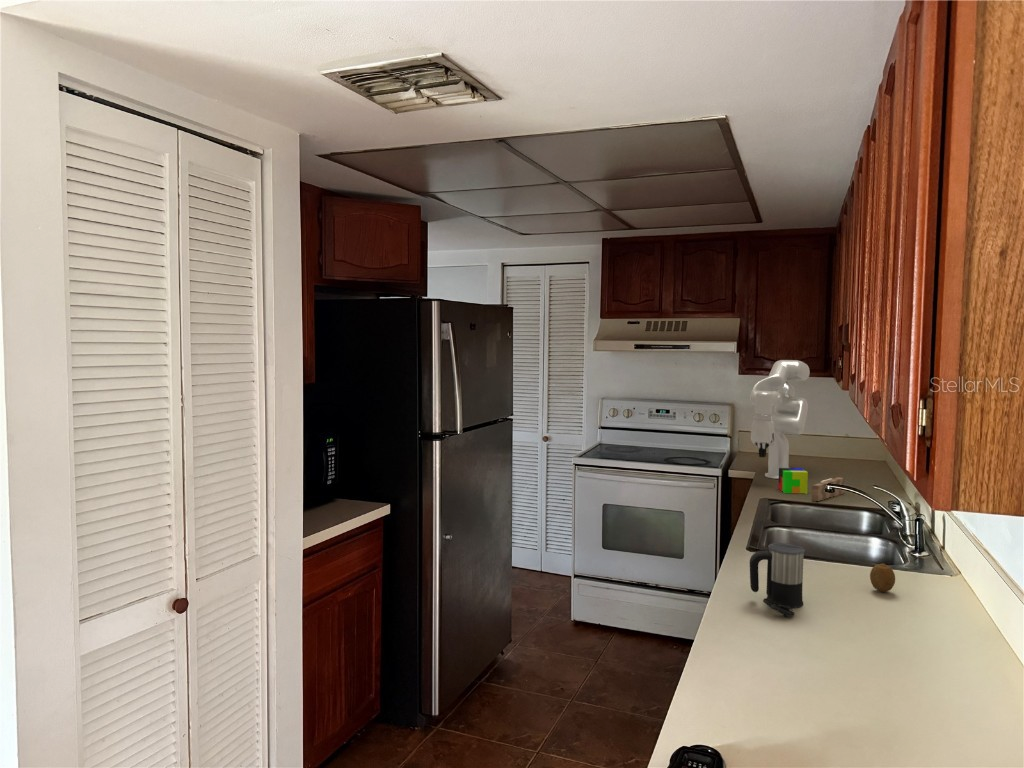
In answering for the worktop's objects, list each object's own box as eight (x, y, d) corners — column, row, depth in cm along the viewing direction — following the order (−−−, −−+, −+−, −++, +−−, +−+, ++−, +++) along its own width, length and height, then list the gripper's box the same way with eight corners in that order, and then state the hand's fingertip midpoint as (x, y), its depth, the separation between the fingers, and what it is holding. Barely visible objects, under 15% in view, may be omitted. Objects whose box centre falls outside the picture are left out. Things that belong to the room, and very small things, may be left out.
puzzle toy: (800, 489, 330) (801, 468, 330) (807, 494, 321) (807, 472, 320) (778, 489, 331) (778, 467, 331) (784, 493, 322) (784, 471, 321)
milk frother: (792, 595, 195) (793, 541, 194) (825, 617, 179) (827, 559, 178) (743, 598, 193) (744, 544, 192) (773, 620, 177) (774, 562, 176)
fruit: (880, 596, 193) (881, 567, 193) (864, 588, 199) (865, 560, 199) (900, 594, 195) (901, 566, 194) (883, 587, 201) (884, 559, 200)
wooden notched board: (838, 492, 324) (838, 475, 323) (843, 493, 322) (844, 476, 321) (811, 501, 306) (812, 483, 306) (817, 502, 304) (818, 484, 304)
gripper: (744, 417, 338) (743, 455, 339) (774, 419, 327) (773, 459, 328) (752, 416, 343) (751, 454, 344) (782, 419, 332) (781, 458, 333)
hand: (762, 456), depth 336 cm, fingers closed
